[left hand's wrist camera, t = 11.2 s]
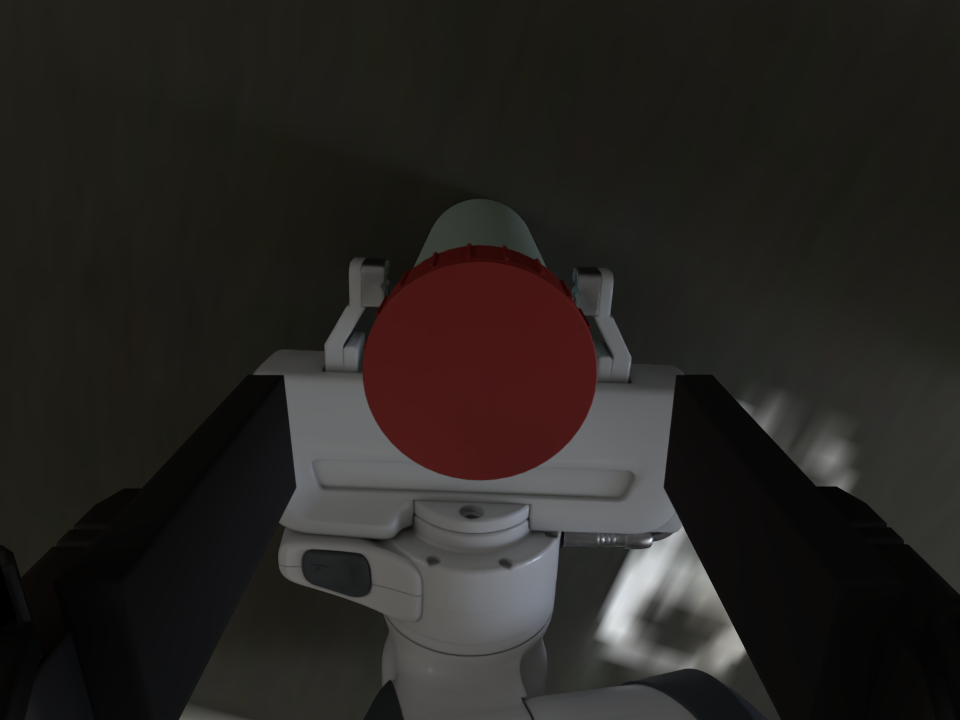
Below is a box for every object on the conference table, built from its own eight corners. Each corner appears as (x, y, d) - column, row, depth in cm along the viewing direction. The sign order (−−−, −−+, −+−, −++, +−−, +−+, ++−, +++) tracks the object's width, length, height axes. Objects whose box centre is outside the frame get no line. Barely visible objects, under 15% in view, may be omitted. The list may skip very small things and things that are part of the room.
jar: (551, 223, 33) (618, 316, 17) (508, 320, 35) (534, 489, 19) (448, 181, 32) (417, 236, 16) (411, 283, 34) (349, 424, 18)
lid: (621, 291, 18) (640, 313, 16) (535, 469, 20) (541, 511, 18) (416, 208, 18) (406, 220, 15) (346, 402, 20) (330, 438, 17)
